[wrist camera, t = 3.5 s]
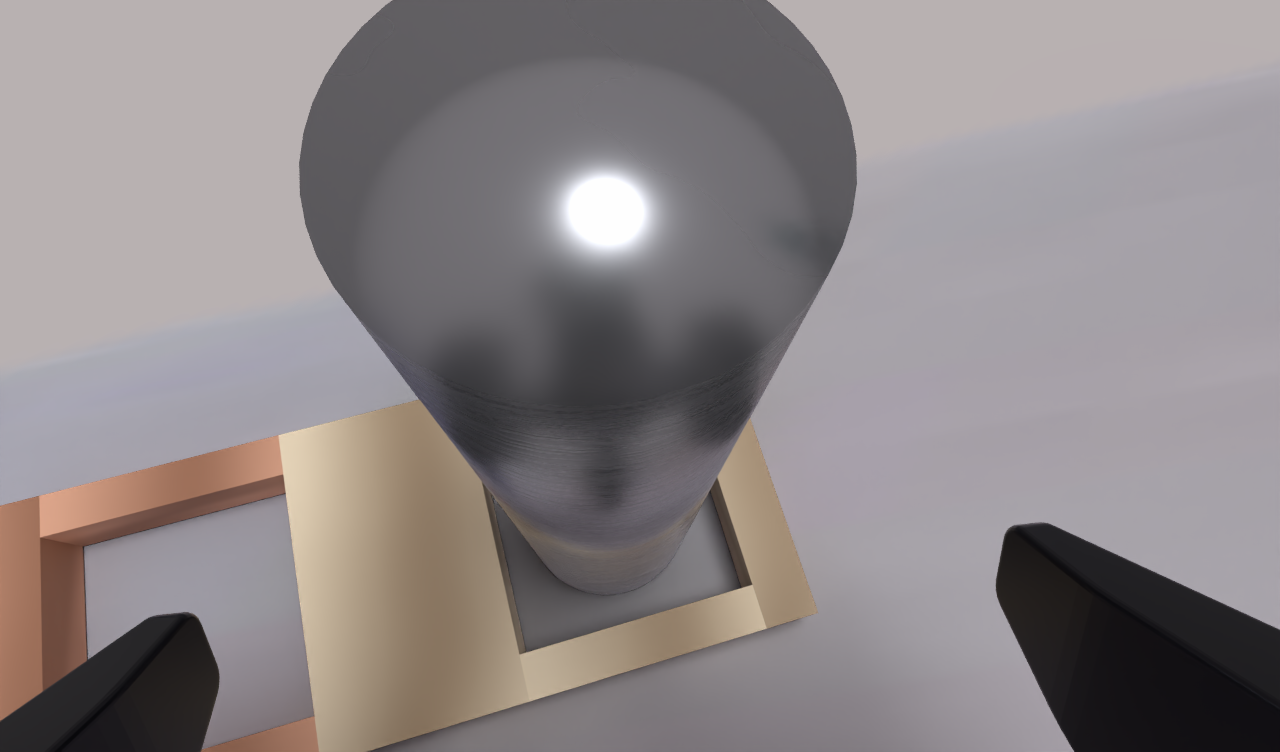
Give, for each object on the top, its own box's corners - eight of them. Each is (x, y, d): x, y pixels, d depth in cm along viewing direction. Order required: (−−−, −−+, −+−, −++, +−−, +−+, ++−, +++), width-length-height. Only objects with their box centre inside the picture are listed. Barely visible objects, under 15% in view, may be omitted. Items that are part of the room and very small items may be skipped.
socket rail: (33, 853, 17) (-21, 870, 15) (28, 521, 19) (-18, 510, 18) (802, 616, 19) (818, 612, 17) (710, 346, 21) (717, 324, 20)
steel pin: (646, 622, 19) (737, 508, 5) (501, 553, 19) (181, 262, 5) (708, 476, 20) (924, 41, 6) (570, 416, 20) (468, -120, 6)
